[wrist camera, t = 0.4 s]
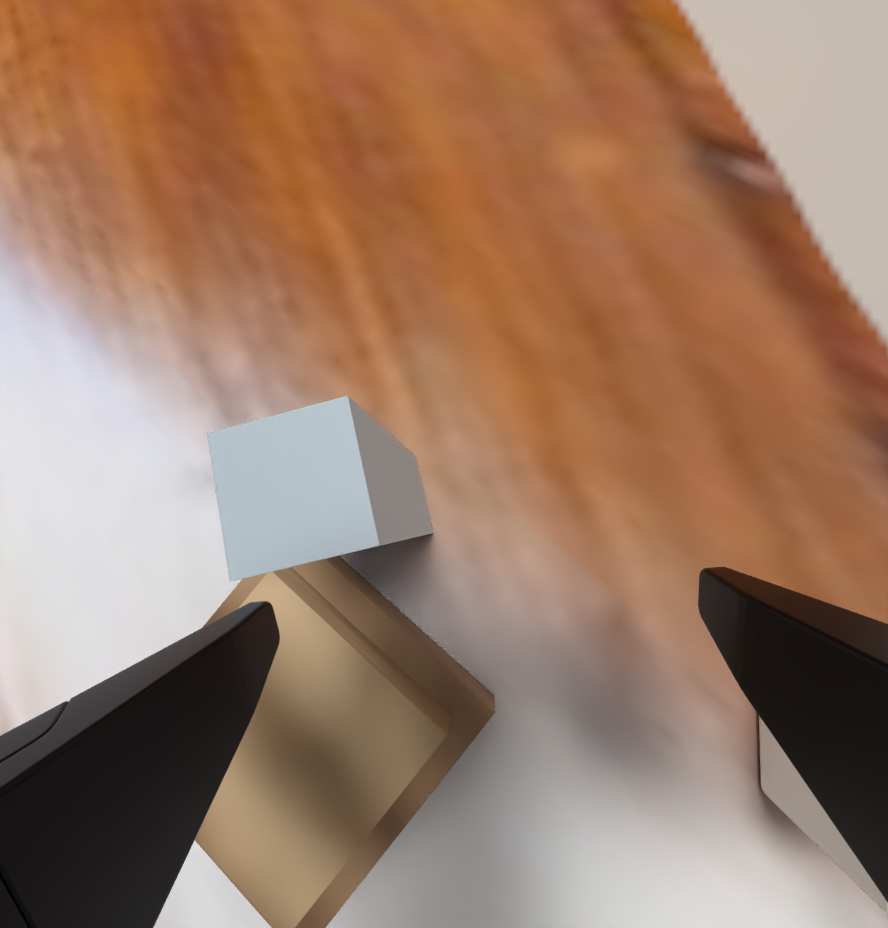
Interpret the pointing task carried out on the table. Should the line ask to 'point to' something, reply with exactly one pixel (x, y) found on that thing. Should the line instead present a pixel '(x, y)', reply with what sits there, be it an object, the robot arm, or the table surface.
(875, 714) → the robot arm
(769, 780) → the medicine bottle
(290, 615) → the plinth
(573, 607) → the table surface
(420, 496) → the block
